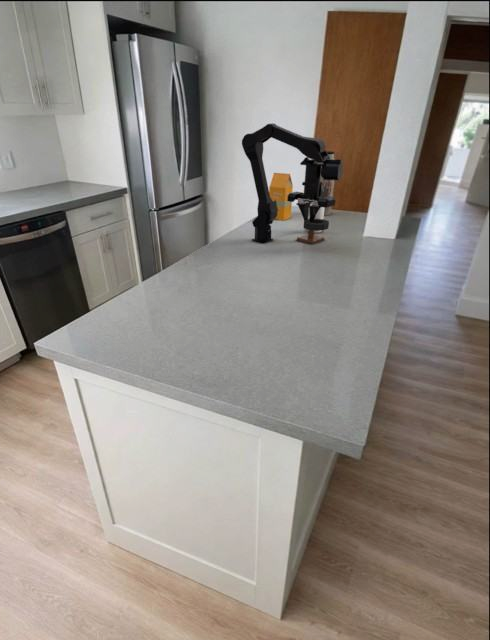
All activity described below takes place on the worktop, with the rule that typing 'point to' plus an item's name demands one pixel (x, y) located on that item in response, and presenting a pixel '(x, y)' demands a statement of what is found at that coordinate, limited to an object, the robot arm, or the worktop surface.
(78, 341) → the worktop surface
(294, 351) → the worktop surface
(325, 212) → the thermos bottle
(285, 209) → the orange juice
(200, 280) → the worktop surface
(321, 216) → the can
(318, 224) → the rubber ring
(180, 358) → the worktop surface
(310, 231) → the copper peg on plate
